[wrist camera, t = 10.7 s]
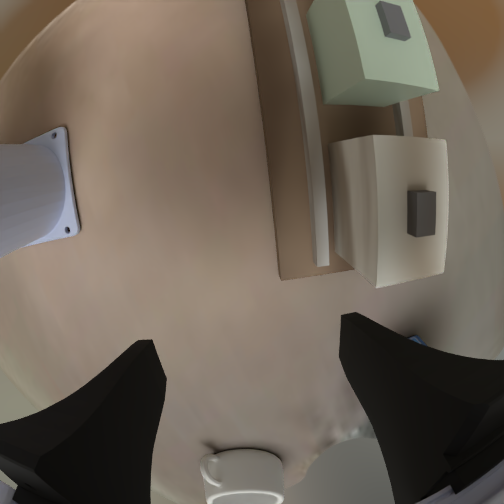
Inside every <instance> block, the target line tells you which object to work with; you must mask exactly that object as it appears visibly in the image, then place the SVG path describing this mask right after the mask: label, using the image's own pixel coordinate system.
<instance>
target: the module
mask: <svg viewBox="0 0 504 504" xmlns="http://www.w3.org/2000/svg"><path fill="white" fill-rule="evenodd" d="M306 18H307V22H308V26H309V31H310V35H311V40H312V45H313V49H314V54H315V60H316V65H317V70H318V76H319V82H320V88H321V94H322V101H323V104H330V105H361V106H377V107H386V106H389V105H392V104H395V103H399V102H402V101H405V100H409V99H412V98H415V97H419V96H422V95H426V94H430V93H433V92H437V91H439V87H438V82H437V77H436V73H435V69H434V65H433V61H432V57H431V53H430V50H429V46H428V43H427V39H426V36H425V33H424V30H423V27H422V24H421V21H420V19H419V16H418V13H417V10H416V8H415V5H414V3H413V0H314V1H313V3H312V5H311V6H310V8H309V10H308V12H307V14H306Z"/></svg>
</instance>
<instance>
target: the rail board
mask: <svg viewBox="0 0 504 504" xmlns="http://www.w3.org/2000/svg"><path fill="white" fill-rule="evenodd" d="M313 1H314V0H245V3H246V9H247V15H248V21H249V28H250V34H251V41H252V48H253V54H254V61H255V68H256V76H257V83H258V90H259V98H260V105H261V113H262V121H263V129H264V137H265V145H266V154H267V162H268V171H269V180H270V189H271V199H272V208H273V218H274V228H275V238H276V248H277V259H278V270H279V276H280V279H281V281H283V280H290V279H297V278H304V277H310V276H317V275H323V274H329V273H336V272H342V271H348V270H354V269H355V270H356V271H358V272H359V273H360V274H361V275H362V276H363V277H364V278H365V279H366V280H368V281H369V282H370V283H371V284H372V285H373V286H374V287H375V288H380V287H385V286H389V285H394V284H399V283H403V282H408V281H412V280H416V279H421V278H425V277H429V276H433V275H437V274H441V273H444V266H445V257H446V246H447V233H448V211H449V180H448V158H447V145H446V140H442V139H433V138H428V137H427V128H426V120H425V113H424V107H423V101H422V96H419V97H415V98H412V99H409V100H405V101H402V102H399V103H395V104H392V105H389V106H386V107H377V106H361V105H330V104H323V101H322V94H321V88H320V82H319V76H318V70H317V65H316V60H315V54H314V49H313V45H312V40H311V35H310V31H309V26H308V22H307V18H306V14H307V12H308V10H309V8H310V6H311V5H312V3H313Z"/></svg>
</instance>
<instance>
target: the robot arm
mask: <svg viewBox="0 0 504 504" xmlns="http://www.w3.org/2000/svg"><path fill="white" fill-rule="evenodd" d="M55 133H57V136H56V138H54V136H55ZM67 227H69V228H70V232H68V230H67ZM79 232H80V224H79V219H78V214H77V209H76V203H75V197H74V191H73V185H72V177H71V170H70V161H69V151H68V139H67V130H66V128H65V127H58V128H56V129H53V130H51V131H49V132H47V133H44V134H42V135H40V136H38V137H36V138H34V139H31V140H29V141H27V142H25V143H23V144H0V258H2V257H3V256H5V255H7V254H9V253H11V252H13V251H15V250H17V249H19V248H22V247H26V246H30V245H34V244H39V243H43V242H47V241H52V240H56V239H61V238H65V237H70V236H75V235H77V234H78V233H79ZM339 358H340V361H341V364H342V367H343V369H344V372H345V375H346V377H347V379H348V381H349V383H350V385H351V386H352V388H353V390H354V392H355V394H356V396H357V397H358V399H359V401H360V403H361V405H362V407H363V409H364V410H365V412H366V414H367V416H368V418H369V420H370V422H371V424H372V426H373V429H374V432H375V434H376V437H377V440H378V442H379V445H380V448H381V451H382V454H383V457H384V460H385V464H386V467H387V470H388V475H389V478H390V482H391V486H392V491H393V496H394V500H395V504H504V360H487V359H477V358H470V357H465V356H460V355H455V354H451V353H447V352H443V351H440V350H437V349H434V348H431V347H428V346H425V345H422V344H420V343H417V342H415V341H413V340H411V339H408V338H406V337H404V336H402V335H400V334H398V333H396V332H394V331H392V330H390V329H388V328H386V327H384V326H382V325H380V324H378V323H376V322H374V321H373V320H371V319H369V318H367V317H365V316H363V315H361V314H359V313H357V312H354V313H349V314H344V315H341V330H340V347H339ZM166 381H167V378H166V376H165V373H164V370H163V368H162V365H161V362H160V360H159V357H158V354H157V352H156V349H155V346H154V343H153V340H152V339H151V340H138V341H136V342H135V343H134V344H132V345H131V346H130V347H129V348H128V349H127V350H126V351H124V352H123V353H122V354H121V355H120V356H119V357H118V358H117V359H115V360H114V361H113V362H112V363H111V364H110V365H109V366H108V367H106V368H105V369H104V370H103V371H102V372H101V373H99V374H98V375H97V376H96V377H94V378H93V379H92V380H91V381H89V382H88V383H87V384H86V385H84V386H83V387H81V388H80V389H79V390H77V391H76V392H74V393H73V394H71V395H70V396H68V397H66V398H65V399H63V400H61V401H59V402H57V403H55V404H54V405H52V406H50V407H48V408H46V409H44V410H42V411H39V412H37V413H35V414H32V415H29V416H27V417H24V418H21V419H18V420H15V421H10V422H7V423H3V424H0V470H1V471H3V472H4V473H5V474H6V475H7V476H8V477H9V478H10V479H11V480H13V481H14V482H15V483H16V484H17V485H18V486H17V489H16V490H15V489H13V488H12V487H10V486H9V485H7V484H6V483H4V482H2V481H1V480H0V504H151V501H150V500H151V499H150V486H151V465H152V454H153V448H154V443H155V438H156V434H157V430H158V426H159V422H160V417H161V413H162V409H163V405H164V401H165V392H166Z"/></svg>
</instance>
